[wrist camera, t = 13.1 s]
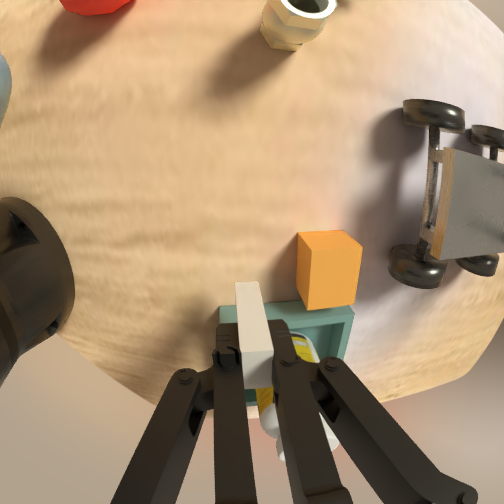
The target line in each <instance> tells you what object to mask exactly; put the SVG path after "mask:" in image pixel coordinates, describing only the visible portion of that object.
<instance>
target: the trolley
mask: <svg viewBox="0 0 504 504" xmlns="http://www.w3.org/2000/svg"><path fill="white" fill-rule="evenodd" d="M403 123H405V124H407V125H411V126H415V127H419V128H424V129H429V146H428V165H427V178H426V188H425V197H424V205H423V212H422V219H421V225H420V231H419V237H418V242H417V245H409V244H403V245H397V246H395V247H393V248H392V252H391V257H390V262H389V267H388V270H389V273H390V274H391V276H392V277H394V278H395V279H396V280H398V281H399V282H401V283H403V284H406V285H408V286H411V287H415V288H420V289H433V288H437V287H439V286H440V285H441V284H442V281H443V277H444V274H445V270H446V266H447V261H446V260H447V259H455V261H456V262H457V264H458V265H459V266H461V267H462V268H463V269H465V270H467V271H469V272H471V273H474V274H476V275H480V276H486V277H489V276H493V275H494V274H495V271H496V268H497V265H498V261H499V256H498V254H497V253H503V252H504V164H501V163H498V162H497V158H498V151H501V152H504V130H501V129H498V128H494V127H489V126H484V125H472V141H471V142H472V143H474V144H476V145H479V146H482V147H486V148H489V149H490V158H489V159H487V158H484V157H481V156H478V155H474V154H471V153H468V152H464V151H461V150H457V149H453V148H447V147H444V150H439V146H440V131H441V132H447V133H455V134H465V112H464V110H462V109H461V108H459V107H456V106H454V105H451V104H447V103H443V102H439V101H433V100H425V99H409V100H405V101H403ZM439 163H443V167H442V179H441V189H440V197H439V205H438V212H437V218H436V224H435V227H434V226H432V225H431V224H432V218H433V211H434V204H435V196H436V188H437V177H438V165H439ZM428 242H429V243H430V244H432V245H431V249H428V248H427V245H428Z"/></svg>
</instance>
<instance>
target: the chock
mask: <svg viewBox="0 0 504 504" xmlns="http://www.w3.org/2000/svg"><path fill="white" fill-rule="evenodd" d="M362 249H363V247H362V246H361V245H360V244H359V243H357V242H356V241H355V240H354V239H353V238H352V237H350V236H349V235H348V234H347V233H346V232H344V231H343V230H332V231H312V232H298V244H297V270H296V287H297V289H298V292H299V294H300V296H301V298H302V300H303V302H304V304H305V307H306V309H307V311H308V310H316V309H324V308H332V307H339V306H346V305H353V304H354V301H355V295H356V290H357V284H358V277H359V271H360V264H361V257H362Z"/></svg>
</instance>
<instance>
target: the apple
mask: <svg viewBox="0 0 504 504" xmlns="http://www.w3.org/2000/svg"><path fill="white" fill-rule="evenodd" d="M129 1H131V0H60V2H61V3H62V5H63V6H64V8H65V9H66V10H67V11H71V12H75V13H78V14H81V15H85V16H88V15H97V14H106V13H113V12H114V11H115V10H117V9H118V8H120V7H121V6H123V5H124V4H126V3H128V2H129Z"/></svg>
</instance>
